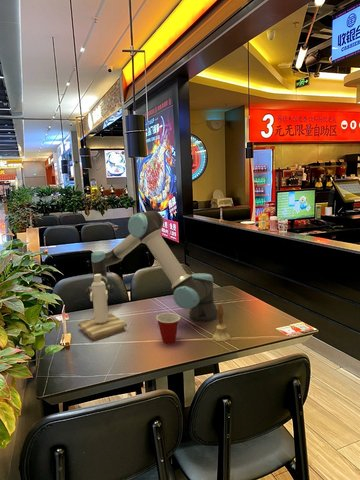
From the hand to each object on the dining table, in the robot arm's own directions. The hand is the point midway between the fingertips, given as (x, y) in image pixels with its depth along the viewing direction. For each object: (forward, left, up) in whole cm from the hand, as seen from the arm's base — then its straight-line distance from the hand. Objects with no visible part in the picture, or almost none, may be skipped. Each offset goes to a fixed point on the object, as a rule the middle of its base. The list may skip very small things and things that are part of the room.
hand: (98, 297), depth 172 cm
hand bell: (-41, -40, -19) cm, 61 cm away
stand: (+5, -2, -19) cm, 20 cm away
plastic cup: (-28, -20, -19) cm, 40 cm away
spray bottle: (+5, -2, -14) cm, 15 cm away
